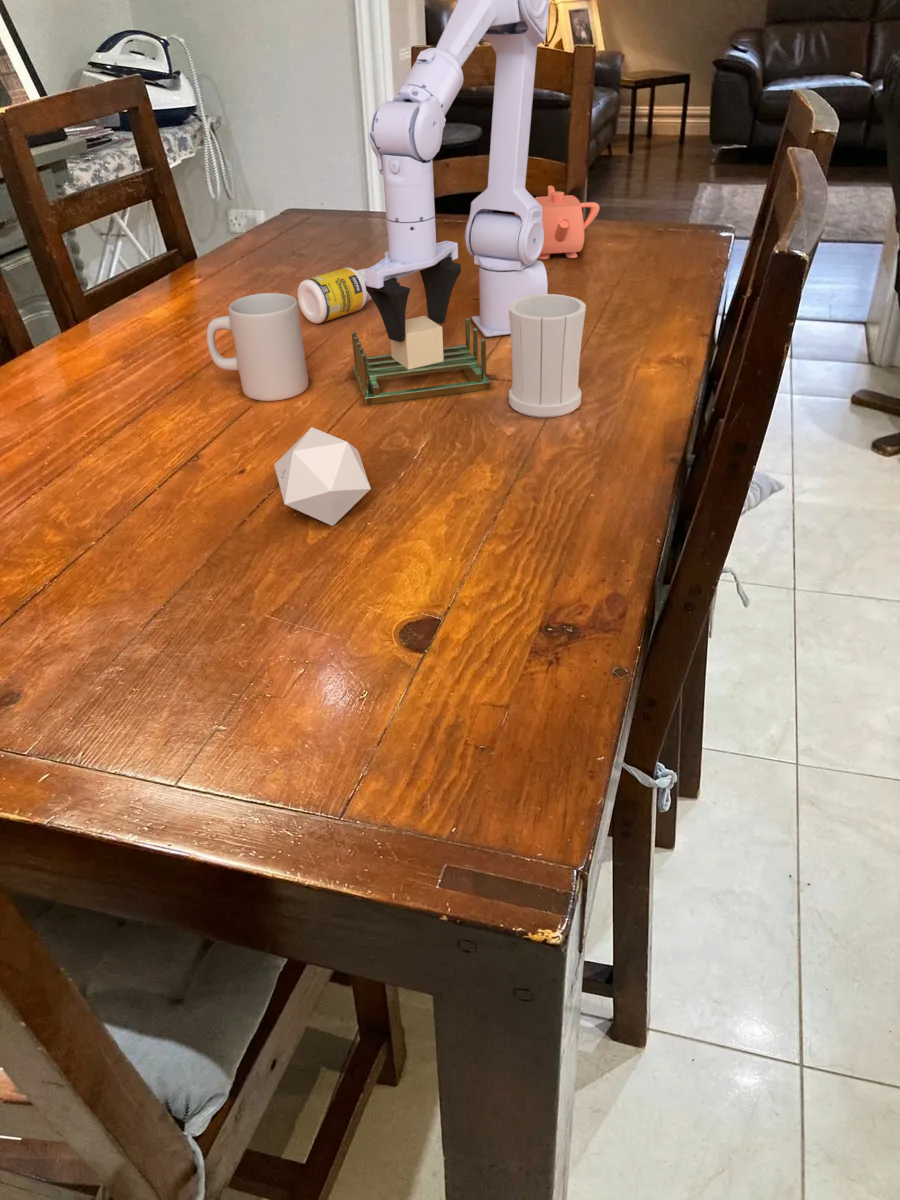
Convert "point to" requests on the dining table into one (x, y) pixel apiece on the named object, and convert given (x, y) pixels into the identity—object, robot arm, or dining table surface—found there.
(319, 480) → the die
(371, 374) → the dish rack
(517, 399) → the cup
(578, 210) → the teapot
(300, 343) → the mug
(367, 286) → the robot arm
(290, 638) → the dining table surface
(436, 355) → the box
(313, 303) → the pill bottle
